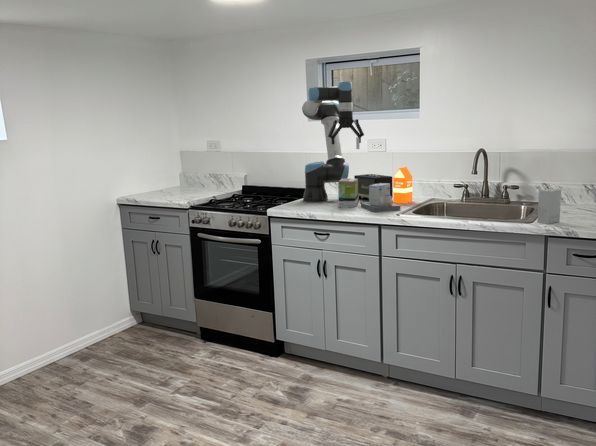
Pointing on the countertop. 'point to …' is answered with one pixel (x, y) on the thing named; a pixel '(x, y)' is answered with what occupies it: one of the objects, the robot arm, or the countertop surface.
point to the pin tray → (381, 206)
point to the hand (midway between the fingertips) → (346, 149)
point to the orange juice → (402, 186)
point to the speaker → (371, 183)
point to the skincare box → (549, 206)
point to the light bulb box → (379, 193)
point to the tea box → (347, 192)
